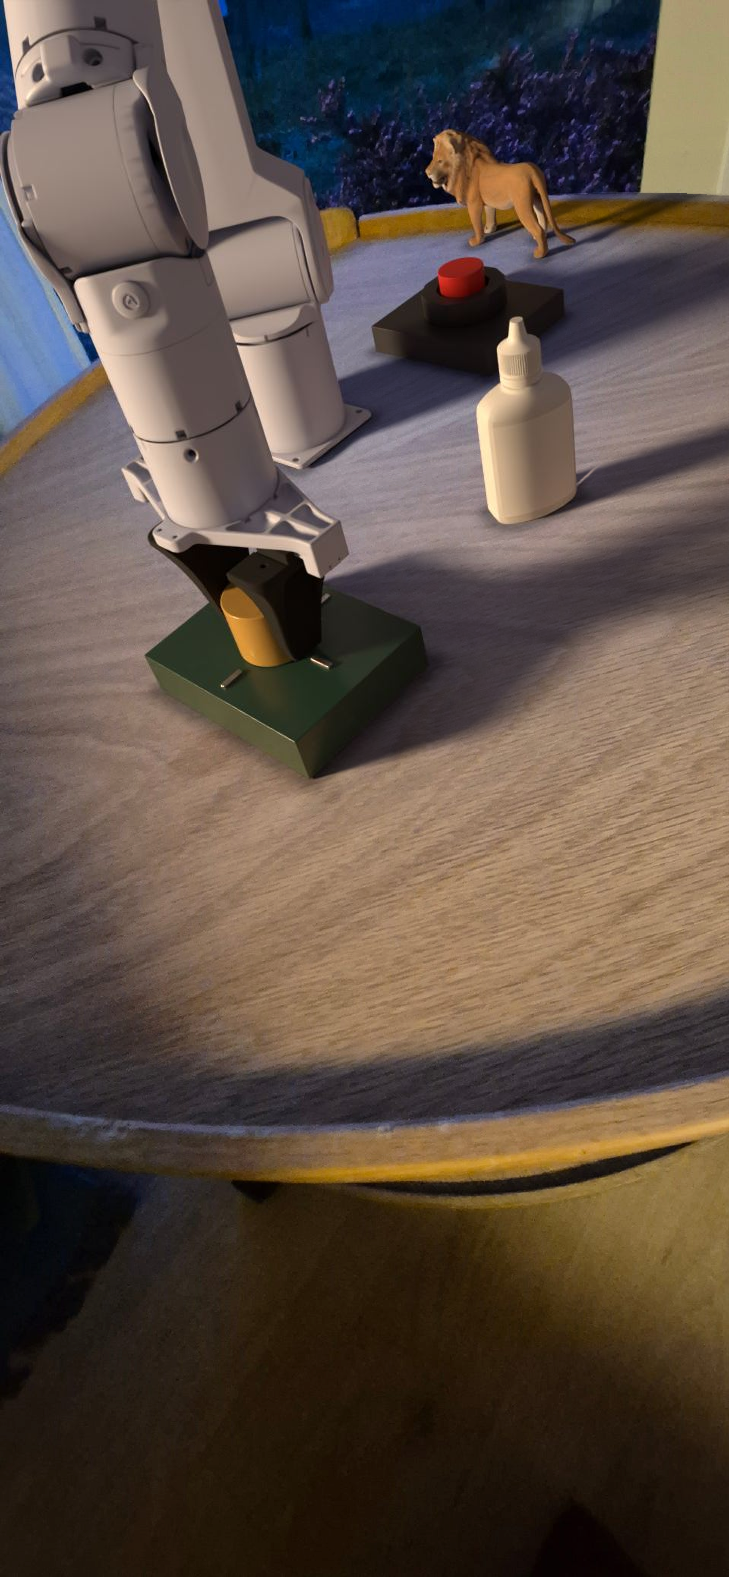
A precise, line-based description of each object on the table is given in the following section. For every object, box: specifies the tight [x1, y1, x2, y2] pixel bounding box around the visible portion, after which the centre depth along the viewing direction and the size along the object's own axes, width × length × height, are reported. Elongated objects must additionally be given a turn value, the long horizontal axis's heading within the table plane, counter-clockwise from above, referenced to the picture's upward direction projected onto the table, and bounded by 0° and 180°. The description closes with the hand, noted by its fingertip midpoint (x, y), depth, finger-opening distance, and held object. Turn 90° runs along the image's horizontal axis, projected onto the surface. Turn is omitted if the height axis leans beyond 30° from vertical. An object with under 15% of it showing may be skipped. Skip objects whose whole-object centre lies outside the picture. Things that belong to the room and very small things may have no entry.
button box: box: [371, 265, 566, 378], centre depth 76 cm, size 12×10×4 cm
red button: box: [437, 256, 486, 298], centre depth 74 cm, size 4×4×2 cm
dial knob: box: [221, 582, 292, 667], centre depth 52 cm, size 4×4×4 cm
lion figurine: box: [425, 128, 577, 259], centre depth 84 cm, size 15×5×9 cm, turn 50°
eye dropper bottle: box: [476, 317, 578, 525], centre depth 57 cm, size 4×6×12 cm
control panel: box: [143, 583, 430, 780], centre depth 54 cm, size 13×10×3 cm
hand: (274, 634), depth 53 cm, fingers closed on dial knob, 4 cm apart
